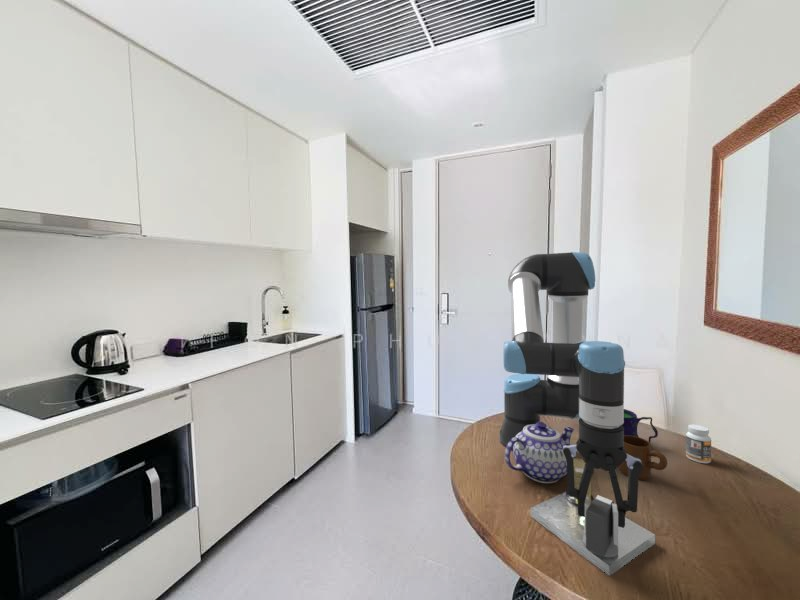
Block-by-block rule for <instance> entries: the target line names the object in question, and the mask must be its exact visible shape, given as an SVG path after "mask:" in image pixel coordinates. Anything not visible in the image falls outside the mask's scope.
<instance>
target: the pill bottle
mask: <svg viewBox="0 0 800 600" xmlns="http://www.w3.org/2000/svg"><path fill="white" fill-rule="evenodd" d="M687 426H688V427H687V430H688V431H687V432H686V434H685V455H686V458H688V459H689V460H691V461H693V462H696V463H699V464H710V463H711V462H712V438H711V437H710V436H709V433H710V430H709V428H707V427H706V426H703V425H699V424H688V425H687Z"/></svg>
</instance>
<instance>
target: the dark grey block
mask: <svg viewBox="0 0 800 600" xmlns="http://www.w3.org/2000/svg"><path fill="white" fill-rule="evenodd" d="M612 503H613V504H615V501H614V500H612V499H610V498H607V497H605V496H602V495H599V494H596V496H595V497H594V500H593V501H592V503H591V504H590V506H589V507H588V509H587V510H586V536H585V533H584V535H583V542H584V544H585V546H586V548H587V549H589V550H590V551H592V552H593V553H595V554H597V555H600V556H602V557H608V558H611V557H615V556H617V554H618V546H617V545H614V544H613V538H612Z"/></svg>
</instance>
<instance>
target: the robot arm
mask: <svg viewBox="0 0 800 600" xmlns="http://www.w3.org/2000/svg"><path fill="white" fill-rule="evenodd" d="M507 281H508V282H507V286H508V290H509V292H510V294H511V340H509V341H505V342H504V343H503V369H504V371H506V372H508V373H514V374H511V375H509V376H506V378H505V380H504V385H503V386H504V388H503V393H504V396H503V397H504V398H503V399H504V403H503V404H504V405H503V407H504V408H503V409H504V410H503V411H504V413H503V415H504V417H503V422H502V424H501V427H500V428H501V429H500V430H499V432H498V433H499V437H498V438H499V439H498V440H499V442H500V444H502V445H503V446H504V447H505V448H506V447H507V444H508V443H509V441H510V440H511V439H512V438H513V437H515V436H516V435H517V434H518V433H519V432H521V431H522V430H523V428H524V427H525V426H527V425H532V424H536V423H537V422H541V416H547V417H557V418H563V419H564V418H565V419H571V420H574V419H579V420H578V439H577V441H576V442H575V444H570V445H568V444H564V445H563V453H564V455H565V458H566V460H567V474H566V475H567V477H566V479H567V490H568V495H569V496H570V497H574V498H576V499H577V500H578V514H579V516H581V517H584V531H585V536H586V510H587V509H588V507H589V498H588V497H586V495H587V491H588V488H589V484H590V480H591V479H592V475H593V473H594V471H595V469H598V470H603V471H605V472H608V475H609V479H610V482H611V488H612V491H613V495H614V499H615V503H614V504H613V503H612V538H613V544H614V545H618V527H622V528H624V527H625V518H626V514H627V513H628V512H631V513H635V514H636V513H637V512H638V499H639V498H638V497H639V479H638V478H639V474H640V472H641V470H642V468H643V465H642V462H641V460H640V458H639V457H632V456H630V455H628V454H627V453H626V451H625V449H624V427H623V426H622V424H623V423H624V409H625V408H624V406H625V405H624V403H625V402H624V399H625V394H624V393H625V368H626V361H625V356H624V355H625V354H624V353H625V352H624V348H623V347H622V346H621V345H620V344H618V343H614V342H611V341H600V340H591V341H590V340H589V341H588V340H587V341H586V340H583V303H584V302H583V301H584V299H586V298H588V296H589V290H593V289H594V288H595V287H596V271H595V267H594V263H593V260H592V258H591V255H589V254H588V253H586V252H576V251H575V252H574V251H571V252H557V253H536V254H532V255H529V256H528V257H525V258H523V259H522V260H520V261H519V262H518V263H517V264H516V265H515V266H514V267H513V269H512V270H511V271H510V274H509V276H508V280H507ZM540 290H541V291H544V290H545V291H547V296H548V297H549V298H550V299H551V300H552V301H551V302H552V322H551V323H552V326H551V327H552V329H551V330H552V333H551V337H552V339H551V340H552V342H546V341H544V331H543V330H544V329H543V323H542V314H541V313H542V312H541V304H540V303H541V302H540V296H539V294H540V293H539V292H540ZM539 375H542V376H543V375H544V376H546V379H541V377H540V376H539ZM511 451H513V447H512V450H511ZM577 452H578V454H580V457H582V459H583V460H584V462H585V466H584V470H583V474H582V478H581V482H580V485H579V489H576V488H575V485H574V459H573V458H575V457H577ZM625 460H626V461H627V466H628V467H629V473H628V476H627V477H628V478H627V495H626V496H627V497H626V498H627V499H626V500H625V499H624V500H623V496H622V495H623V494H622V492H621V491H622V490H621V487H620V482H619V478H618V475H617V471H616V470H617V468H619V465H620V464H621V463H622V462H623V461H625ZM591 481H592V480H591Z"/></svg>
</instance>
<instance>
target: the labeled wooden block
mask: <svg viewBox="0 0 800 600" xmlns="http://www.w3.org/2000/svg"><path fill="white" fill-rule="evenodd" d="M573 459H574V485H575V488H576V489H579V485H580V482H581V478H582V474H583V470H584V466H585V460H584V459H583V458H575V457H573ZM591 481H592V480H590V484H589V488H588V491H587V495H586V497H588V498H589V506H590V504H591V503H592V501H593V500H594V499H595V497H594V496H593V495H592V493H591V491H592V490H591V489H592V488H591V487H592V486H591V484H592V482H591ZM565 492H566V497H567V498H568V499H569V500H570V501H571V502H573V503H575V504H577V505H578V500H577V499H576V498H574V497H570V496H569V495H568V489H567V490H565Z"/></svg>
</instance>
